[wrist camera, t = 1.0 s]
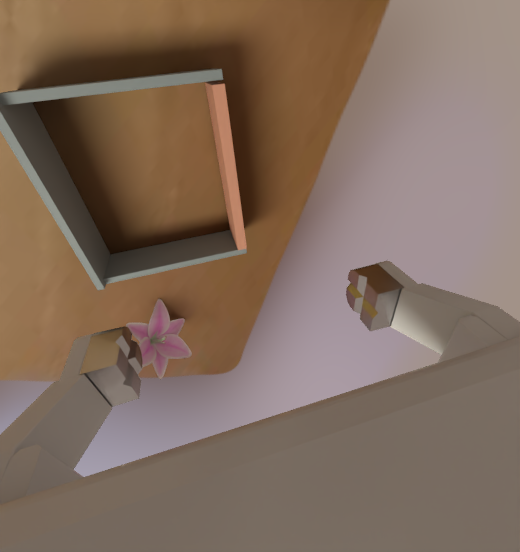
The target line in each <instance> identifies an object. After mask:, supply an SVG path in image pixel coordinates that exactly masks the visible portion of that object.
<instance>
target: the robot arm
mask: <svg viewBox="0 0 520 552" xmlns="http://www.w3.org/2000/svg"><path fill="white" fill-rule="evenodd" d="M348 280H349V281H350V282H351V283H350V285H349V286H348V287H347V291H346V296H347V300H348V303H349V305H350V307H351V308H352V309H353V311H355V312H357V313H360V320H361V321H362V322H363V323H364V324H365V326H366V327H367V328H368V329H369V331H373V330H377V329H381V328H385V327H389V326H391V327H392V328H393V329H396V330H397V331H399V332H401V333H403V334H404V335H406V336H409V337H410V338H412V339H414V340H415V341H417V342H419V343H421V344H423V345H425V346H427V347H428V348H430V349H432V350H434V351H436V352H438V353H439V354H441V357H440V359H439V361H438V363H435V364H432V365H429V366H426V367H423V368H420V369H417V370H414V371H411V372H408V373H405V374H401V375H398V376H396V377H392V378H389V379H387V380H383V381H380V382H377V383H374V384H371V385H368V386H364V387H362V388H358V389H355V390H352V391H349V392H346V393H343V394H340V395H337V396H334V397H331V398H327V399H324V400H321V401H318V402H316V403H312V404H309V405H306V406H303V407H300V408H297V409H293V410H291V411H288V412H284V413H281V414H278V415H275V416H272V417H269V418H266V419H263V420H260V421H257V422H253V423H250V424H247V425H244V426H241V427H238V428H235V429H232V430H229V431H226V432H222V433H220V434H217V435H213V436H210V437H207V438H204V439H201V440H198V441H195V442H192V443H188V444H185V445H182V446H179V447H176V448H173V449H170V450H167V451H164V452H161V453H158V454H154V455H151V456H148V457H145V458H142V459H139V460H136V461H133V462H130V463H127V464H124V465H121V466H117V467H114V468H111V469H108V470H105V471H102V472H99V473H96V474H93V475H90V476H86V477H83V476H81V475H80V474H79V473H77V472H76V471H74V468H75V467H76V465H77V463H78V462H79V460H80V458H81V457H82V455H83V454H84V452H85V451H86V449H87V448H88V446H89V444H90V443H91V441H92V439H93V438H94V437H95V435H96V433H97V432H98V430H99V429H100V427H101V426H102V424H103V422H104V421H105V419H106V417H107V416H108V414H109V413H110V411H111V410H112V407H113V406H116V405H120V404H123V403H126V402H129V401H132V400H135V399H139V395H140V386H141V380H140V378H139V376H138V374H139V372H140V371H141V370H142V364H143V360H142V353H141V350H140V347H139V345H138V343H137V342H135V341H133V340H131V339H132V333H131V331H130V329H129V328H128V327H126V326H124V327H120V328H115V329H111V330H107V331H102V332H98V333H94V334H90V335H86V336H81V337H78V338H77V339H75V340H74V342H73V345H72V348H71V350H70V353H69V356H68V358H67V361H66V364H65V366H64V369H63V372H62V374H61V377H60V380H59V381H56V382H54V383H53V384H51V385H50V386H49V388H47V389H46V390H45V391H44V392H43V393H42V394H41V395H40V396H39V397H38V398H37V399H36V400H35V401H34V402H33V403H32V404H31V405H30V406H29V407H28V408H27V409H26V410H25V411H24V412H23V413H22V414H21V415H20V416H19V417H18V418H17V419H16V420H15V421H14V422H13V423H12V424H11V425H10V426H9V427H8V428H7V429H6V430H5V431H4V432H3V433H2V434H1V435H0V552H520V322H519V321H518V320H516V319H515V318H513V317H512V316H510V315H509V314H508V313H506V312H504V311H503V310H502V309H500V308H499V307H497V306H494V305H491V304H488V303H485V302H481V301H478V300H475V299H472V298H468V297H465V296H462V295H459V294H455V293H452V292H449V291H445V290H442V289H439V288H436V287H432V286H429V285H426V284H423V283H422V284H417V283H416V282H415V281H414V280H412V279H411V278H410V277H409V276H408V275H406V274H405V273H404V272H403V271H401V270H400V269H399V268H398V267H396V266H395V265H394V264H392V262H390V261H384V262H380V263H376V264H374V265H369V266H366V267H362V268H358V269H354V270H351V271H350V272H349V275H348Z"/></svg>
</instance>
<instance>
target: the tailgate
mask: <svg viewBox="0 0 520 552" xmlns="http://www.w3.org/2000/svg"><path fill="white" fill-rule="evenodd" d="M205 85H206V91H207V97H208V103H209V108H210V114H211V120H212V126H213V132H214V138H215V144H216V149H217V155H218V161H219V167H220V173H221V179H222V185H223V190H224V196H225V202H226V208H227V214H228V220H229V226H230V231H231V233H232V236H233V238H234V241H235V243H236V246H237V249H238V250H242V249H247V246H246V239H245V231H244V224H243V216H242V209H241V201H240V194H239V187H238V179H237V172H236V164H235V157H234V149H233V142H232V134H231V127H230V119H229V112H228V105H227V97H226V90H225V84H224V83H220V82H217V81H212V82H205Z"/></svg>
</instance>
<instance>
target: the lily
mask: <svg viewBox="0 0 520 552" xmlns="http://www.w3.org/2000/svg"><path fill="white" fill-rule="evenodd" d="M184 322H185V319H184V318H181V319H176V320H172V321H170V317H169V314H168V311H167V309H166V307H165V305H164V303H163V301H162V300H161V299H158V300H157V302H156V305H155V308H154V311H153V314H152V316H151V319H150V322H149V324H146V323H128V324H126V326H127V327H128V328H129V329H130V331H131V333H132V334H133V335H134V336H135V338H136V339H137V340H138V341H139V342H140V343H139V347H140V350H141V353H142V360H143V364H142V367H144V366H147V365H149V364H151V363H153V366H154V368H155V371H156V373H157V375H158V377H159V379H162V378H163V375H164V373H165V370H166V367H167V363H168V358H171V359H179V358H187V357H190V356H191V351H190V349H189V347H188V346H187V344H186V343H185V342H184V341H183V340H182V338H180V337H179V336H177V335H178V334H179V332H180V331H181V329H182V327H183V324H184Z"/></svg>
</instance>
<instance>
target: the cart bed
mask: <svg viewBox="0 0 520 552" xmlns="http://www.w3.org/2000/svg"><path fill="white" fill-rule="evenodd" d="M216 80H223V75H222V69H205V70H196V71H187V72H178V73H169V74H160V75H150V76H141V77H132V78H123V79H114V80H105V81H96V82H87V83H78V84H69V85H60V86H51V87H42V88H32V89H23V90H15V91H9V92H3V93H0V131H1V133H2V134H3V136H4V138H5V139H6V141H7V142H8V144H9V146H10V147H11V149H12V151H13V152H14V154H15V156H16V157H17V159H18V160H19V162H20V164H21V165H22V167H23V169H24V170H25V172H26V174H27V175H28V177H29V178H30V180H31V182H32V183H33V185H34V187H35V188H36V190H37V191H38V193H39V195H40V196H41V198H42V200H43V201H44V203H45V205H46V206H47V208H48V209H49V211H50V213H51V214H52V216H53V218H54V219H55V221H56V223H57V224H58V226H59V227H60V229H61V231H62V232H63V234H64V236H65V237H66V239H67V241H68V242H69V244H70V245H71V247H72V249H73V250H74V252H75V254H76V255H77V257H78V258H79V260H80V262H81V263H82V265H83V267H84V268H85V270H86V272H87V273H88V275H89V276H90V278H91V280H92V281H93V283H94V285H95V286H96V288H97V290H102V289H105V286H106V284H108V283H113V282H117V281H122V280H126V279H131V278H135V277H140V276H145V275H149V274H154V273H158V272H163V271H167V270H172V269H176V268H181V267H185V266H190V265H194V264H199V263H203V262H208V261H212V260H217V259H222V258H226V257H231V256H235V255H240V254H244V253H247V251H246V249H242V250H238V249H237V246H236V243H235V241H234V238H233V236H232V233H231V231H230V230H227V231H222V232H217V233H212V234H208V235H203V236H198V237H193V238H188V239H183V240H178V241H174V242H169V243H164V244H159V245H154V246H149V247H144V248H139V249H135V250H130V251H125V252H120V253H115V254H110V252H109V250H108V248H107V246H106V245H105V243H104V241H103V239H102V237H101V235H100V233H99V231H98V229H97V227H96V225H95V223H94V221H93V219H92V217H91V215H90V213H89V212H88V210H87V208H86V206H85V204H84V202H83V200H82V198H81V196H80V194H79V192H78V190H77V188H76V186H75V184H74V182H73V181H72V179H71V177H70V175H69V173H68V171H67V169H66V167H65V165H64V163H63V161H62V159H61V157H60V155H59V153H58V151H57V149H56V148H55V146H54V144H53V142H52V140H51V138H50V136H49V134H48V132H47V130H46V128H45V126H44V124H43V122H42V120H41V118H40V117H39V115H38V113H37V111H36V109H35V107H34V105H33V103H32V102H37V101H45V100H54V99H62V98H71V97H79V96H88V95H96V94H105V93H113V92H122V91H130V90H139V89H147V88H156V87H164V86H173V85H181V84H190V83H199V82H207V81H216Z"/></svg>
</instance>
